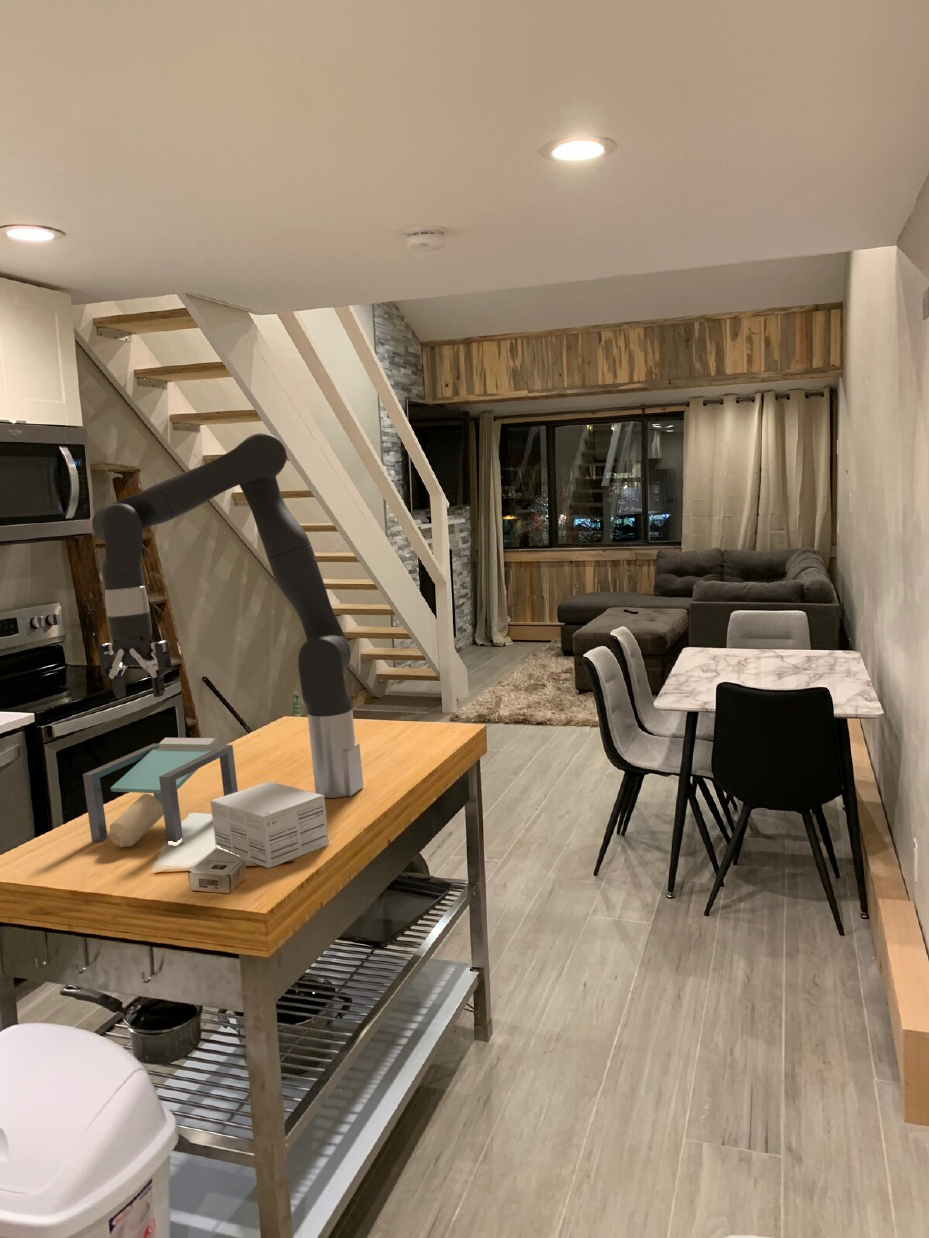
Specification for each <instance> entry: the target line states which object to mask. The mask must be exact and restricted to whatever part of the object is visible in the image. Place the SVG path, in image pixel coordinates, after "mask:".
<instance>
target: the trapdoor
mask: <svg viewBox="0 0 929 1238" xmlns="http://www.w3.org/2000/svg"><path fill="white" fill-rule="evenodd" d="M158 744H159V746H160V748H159V749H158V750H152V751H151V752H150V753H149V754H147V755H146V756H145V757H144V758H142V759H140V760H139V762H137V763H136V764H135V765H134V766H133V767H132V768H131V769H130V770H128V772H126V773H125V774H124V775H123V776H122V777H121V778H120V779H119V780H117V782H115V783H114V784H113V785H112V786H111V787H110V791H111V792H115V793H116V792H117V793H135V794H136V793H141V794H154V793H161V789H160V781H159V777H160V776H162V775H164V774H166V773H168V772H170V771H172V770H174V769H176V768H178V767H180V766H182V765H184V764H186V763H188V762H190V761H192V760H194V759H196V758H198V757H200V756H202V755H204V754H206V753H208V752H210V751H212V750H214V749H216V748H218V747H219V746H218V743H217V740H216V738H211V737H164V738H163V739H162V740H161V741H160V742H159V743H158ZM199 769H200V768H198V769H196V770H194V771H193V772H191V773H189V774H187V775H185V776H183V777H181V778H179V779H177V780H176V785H177V791H178V790H179V789H180V788H181V787H182V786H183V785H184V784H185V783H186V782H187V781H188V780H189V779H190V778H191V777H192V776H193V775H194V774H195V773H196V772H197V771H198V770H199Z"/></svg>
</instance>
